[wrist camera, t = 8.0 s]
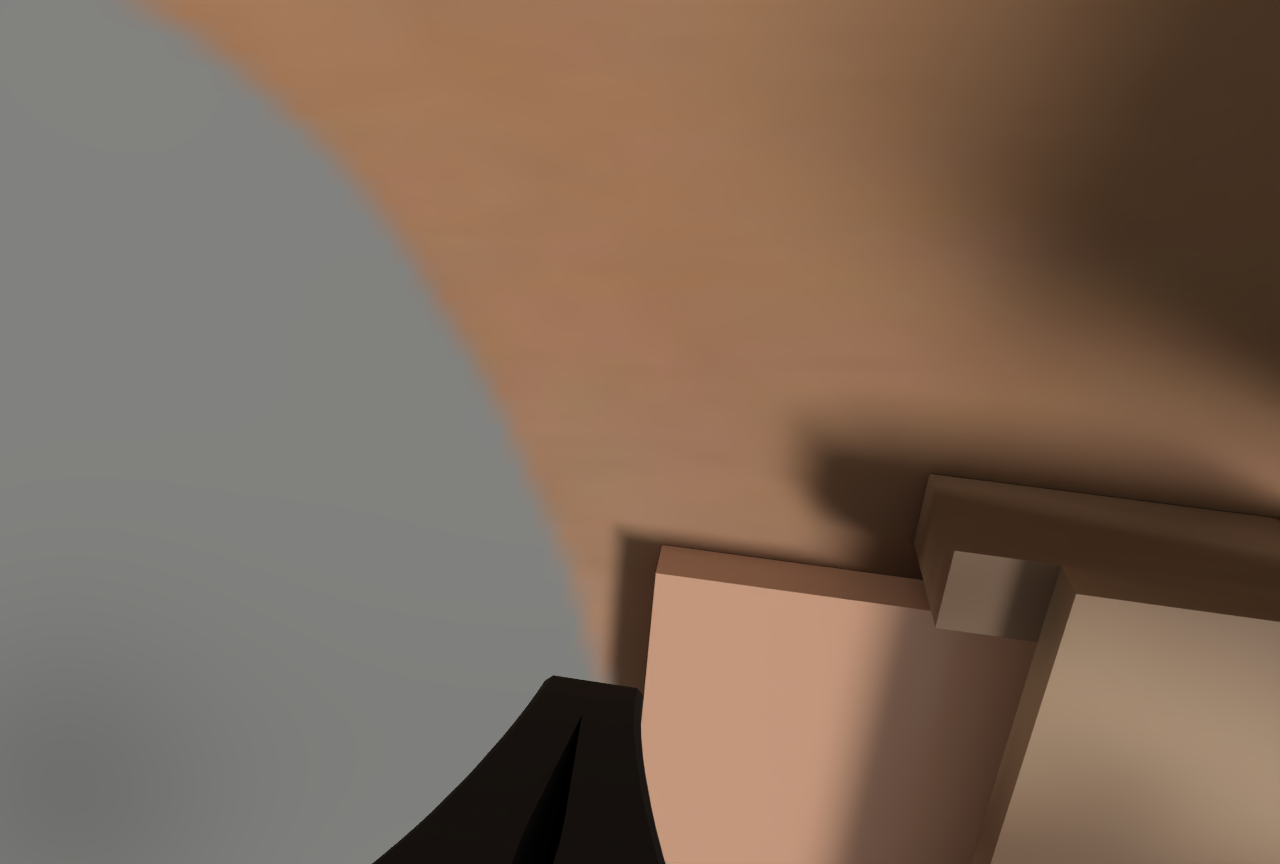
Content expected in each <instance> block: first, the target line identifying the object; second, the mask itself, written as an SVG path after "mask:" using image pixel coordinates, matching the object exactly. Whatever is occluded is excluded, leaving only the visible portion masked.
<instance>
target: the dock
mask: <svg viewBox="0 0 1280 864" xmlns="http://www.w3.org/2000/svg"><path fill="white" fill-rule="evenodd" d="M914 546H915V550H916V554H917V558H918V562H919V566H920V569H921V573H922V577H923V581H924V585H925V589H926V593H927V597H928V601H929V605H930V609H931V613H932V616H933V620H934V624H935V628H940V629H947V630H954V631H961V632H969V633H976V634H983V635H990V636H997V637H1004V638H1011V639H1018V640H1025V641H1032V642H1038V643H1037V646H1036V650H1035V653H1034V656H1033V659H1032V663H1031V666H1030V669H1029V673H1028V676H1027V679H1026V682H1025V686H1024V689H1023V692H1022V695H1021V699H1020V702H1019V705H1018V709H1017V712H1016V715H1015V718H1014V722H1013V725H1012V728H1011V732H1010V735H1009V738H1008V741H1007V745H1006V748H1005V751H1004V754H1003V758H1002V761H1001V764H1000V768H999V771H998V774H997V777H996V781H995V784H994V787H993V791H992V794H991V797H990V800H989V804H988V807H987V810H986V813H985V817H984V820H983V823H982V827H981V830H980V833H979V836H978V840H977V843H976V846H975V850H974V853H973V856H972V859H971V863H970V864H1280V519H1279V518H1271V517H1263V516H1255V515H1247V514H1240V513H1232V512H1224V511H1216V510H1208V509H1201V508H1193V507H1185V506H1177V505H1169V504H1162V503H1154V502H1146V501H1138V500H1130V499H1123V498H1115V497H1107V496H1099V495H1091V494H1084V493H1076V492H1068V491H1060V490H1052V489H1045V488H1037V487H1029V486H1021V485H1013V484H1006V483H998V482H990V481H982V480H974V479H966V478H959V477H951V476H943V475H935V474H929V477H928V482H927V486H926V491H925V495H924V499H923V504H922V508H921V513H920V517H919V521H918V526H917V530H916V534H915V539H914Z"/></svg>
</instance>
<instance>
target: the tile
mask: <svg viewBox="0 0 1280 864" xmlns="http://www.w3.org/2000/svg"><path fill="white" fill-rule="evenodd" d="M1037 643H1038V642H1032V641H1025V640H1018V639H1011V638H1004V637H997V636H990V635H983V634H976V633H969V632H961V631H954V630H947V629H940V628H935V624H934V620H933V616H932V613H931V609H930V605H929V601H928V597H927V593H926V589H925V585H924V581H923V580H918V579H911V578H904V577H896V576H889V575H881V574H874V573H867V572H859V571H852V570H844V569H837V568H830V567H822V566H815V565H807V564H800V563H792V562H785V561H778V560H770V559H763V558H755V557H748V556H741V555H733V554H726V553H718V552H711V551H704V550H696V549H689V548H681V547H674V546H667V545H662V547H661V552H660V557H659V561H658V566H657V570H656V577H655V587H654V597H653V608H652V618H651V628H650V639H649V649H648V659H647V670H646V680H645V691H644V701H643V711H642V722H641V739H642V750H643V760H644V767H645V775H646V780H647V785H648V791H649V796H650V802H651V807H652V812H653V817H654V821H655V825H656V830H657V834H658V837H659V841H660V845H661V849H662V853H663V857H664V860H665V862H668V863H674V864H970V863H971V859H972V856H973V853H974V850H975V846H976V843H977V840H978V836H979V833H980V830H981V827H982V823H983V820H984V817H985V813H986V810H987V807H988V804H989V800H990V797H991V794H992V791H993V787H994V784H995V781H996V777H997V774H998V771H999V768H1000V764H1001V761H1002V758H1003V754H1004V751H1005V748H1006V745H1007V741H1008V738H1009V735H1010V732H1011V728H1012V725H1013V722H1014V718H1015V715H1016V712H1017V709H1018V705H1019V702H1020V699H1021V695H1022V692H1023V689H1024V686H1025V682H1026V679H1027V676H1028V673H1029V669H1030V666H1031V663H1032V659H1033V656H1034V653H1035V650H1036V646H1037Z"/></svg>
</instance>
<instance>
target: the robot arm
mask: <svg viewBox="0 0 1280 864" xmlns="http://www.w3.org/2000/svg"><path fill="white" fill-rule="evenodd" d="M643 699H644V696H643V695H642V694H641V692H640V691H639V690H638V689H637V688H632V687H625V686H619V685H612V684H606V683H599V682H592V681H586V680H579V679H573V678H566V677H560V676H552V677H550V678H549V679H547V680H545V681H544V683H543V685H542V686H541V687H540V689H539V690H538V692H537V693H536V695H535V696H534V697H533V699H532V700H531V702H530V703H529V704H528V706H527V707H526V708H525V710H524V711H523V712H522V714H521V715H520V716H519V717H518V719H517V720H516V721H515V722H514V724H513V725H512V726H511V727H510V728H509V730H508V731H507V732H506V733H505V735H504V736H503V737H502V738H501V739H500V740H499V742H498V743H497V744H496V745H495V746H494V747H493V748H492V749H491V751H490V752H489V753H488V754H487V755H486V756H485V757H484V759H483V760H482V761H481V762H480V763H479V764H478V765H477V767H476V768H475V769H474V770H473V771H472V772H471V773H470V774H469V775H468V776H467V777H466V778H465V779H464V780H463V781H462V782H461V783H460V784H459V786H457V787H456V788H455V790H453V791H452V792H451V794H449V795H448V796H447V797H446V798H445V799H444V800H443V801H442V802H441V803H440V804H439V805H438V806H437V807H436V808H435V809H434V810H433V811H432V812H431V813H430V814H429V815H428V816H427V817H426V818H425V819H424V820H423V821H422V822H420V823H419V824H418V825H417V826H416V827H415V828H414V829H413V830H412V831H410V832H409V833H408V834H407V835H406V836H405V837H404V838H403V839H401V840H400V841H399V842H398V843H397V844H396V845H394V846H393V847H392V848H391V849H390V850H388V851H387V852H386V853H385V854H383V855H382V856H381V857H380V858H379V859H378V860H376V861H375V862H374V863H372V864H665V860H664V857H663V853H662V849H661V845H660V841H659V837H658V834H657V830H656V825H655V821H654V817H653V812H652V807H651V802H650V796H649V791H648V785H647V780H646V775H645V767H644V760H643V750H642V739H641V719H642V709H643Z"/></svg>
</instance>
